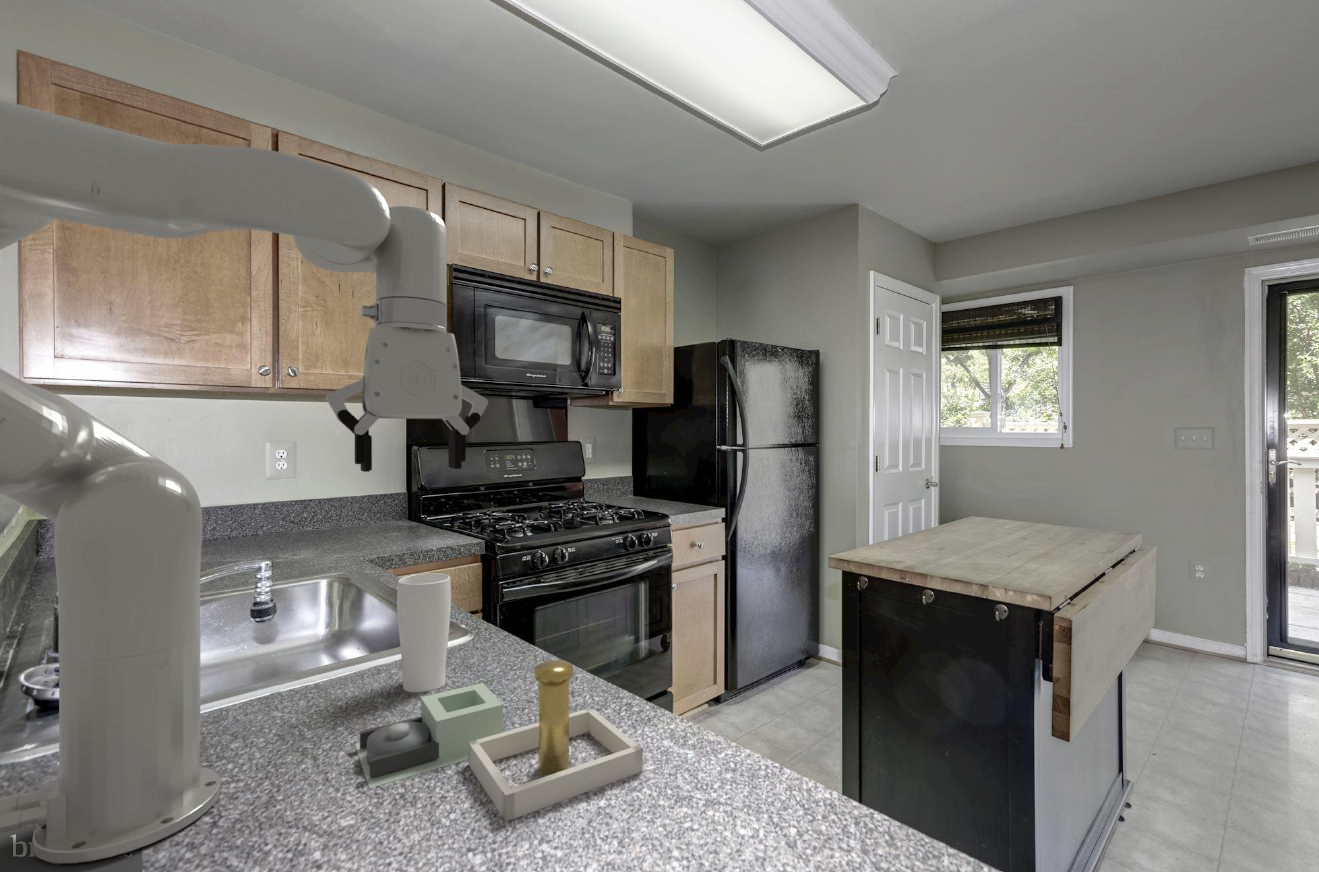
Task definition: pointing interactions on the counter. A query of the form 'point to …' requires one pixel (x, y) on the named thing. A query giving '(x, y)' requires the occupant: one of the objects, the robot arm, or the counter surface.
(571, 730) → the tray
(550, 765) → the pin
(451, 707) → the green socket holder
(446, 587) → the drinking glass
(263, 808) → the counter surface
